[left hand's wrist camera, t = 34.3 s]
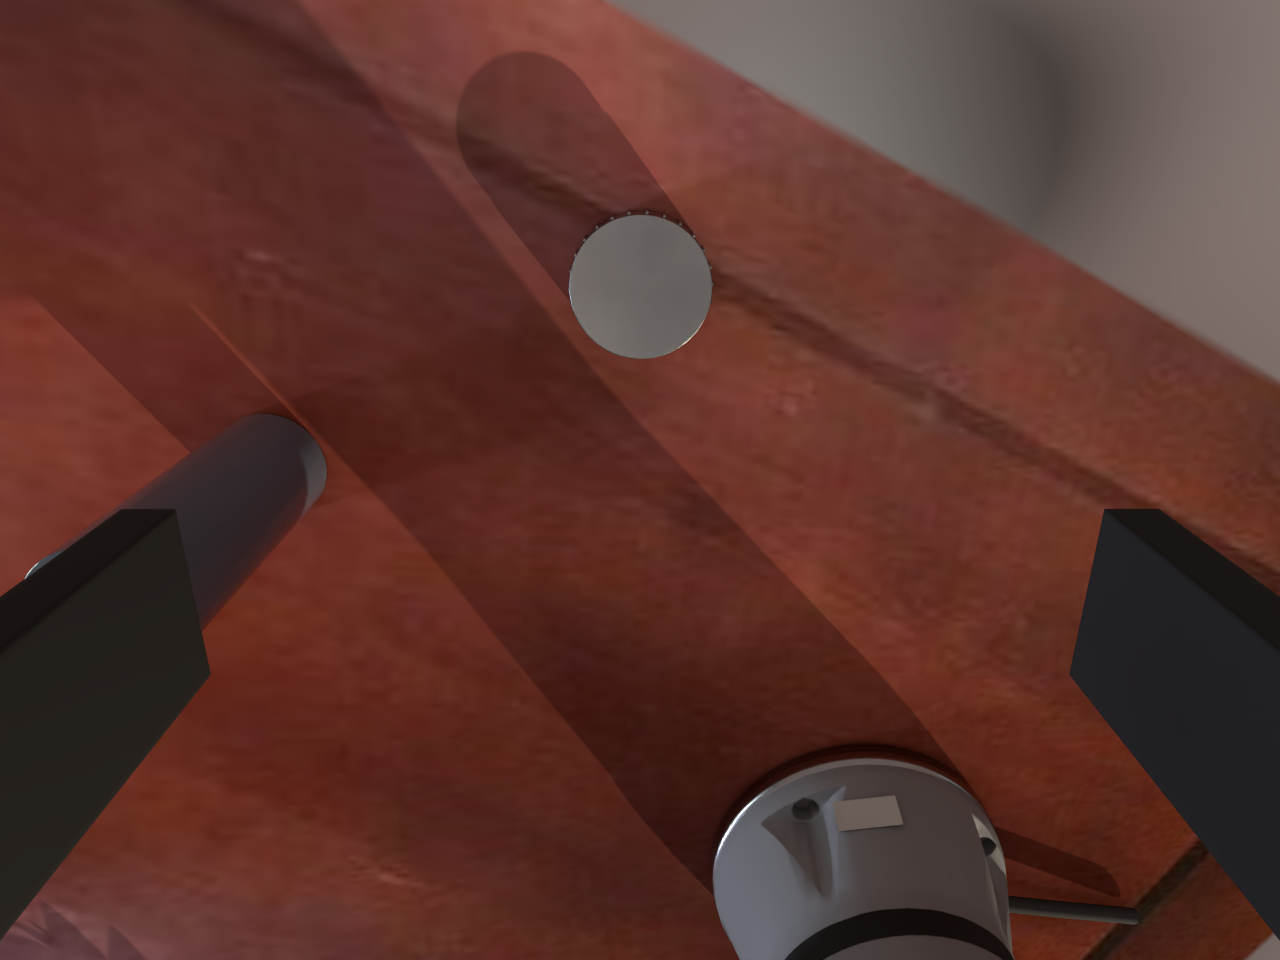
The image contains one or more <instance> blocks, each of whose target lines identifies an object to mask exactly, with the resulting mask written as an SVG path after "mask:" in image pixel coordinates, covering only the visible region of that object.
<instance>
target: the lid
mask: <svg viewBox="0 0 1280 960" xmlns="http://www.w3.org/2000/svg"><path fill="white" fill-rule="evenodd" d="M583 241H584V242H583V244H582V246H581V247H580V249H579V250H578V249H577V251H576V252H575V254H574V256H575V260H574V262H573V265H572V267H571V269H570V270H569V273H570V282H569V288H568V291H569V292H570V300H571V304H572V305H571V307H572V308H573V311H574V314H575V316H576V318H577V320H578V323H579V324H580V325H581V327H582V329H583V330H584V331H585V332H586V334H587V335H588V336H589V337H590V338H591V339H592V340H593V341H594V342H595V343H597V344H598V345H599V346H601V347H602V348H604V349H606V350H607V351H609V352H611V353H614V354H616V355H619V356H623V357H627V358H634V359H648V358H655V357H659V356H662V355H665V354H668V353H670V352H672V351H674V350H676V349H678V348H679V347H681V346H682V345H683V344H685V343H686V342H687V341H688V340H689V339H690V338H691V337H693V336H694V334H695V333H696V332H697V331H698V329H699V328H700V326H701V325H702V323H703V321H704V319H705V318H706V315H707V313H708V310H709V306H710V303H711V302H712V300H711V297H712V286H714V283H713V281H712V276H711V271H710V268H711V265H710V263H709V261H707V258H706V256H705V254H704V252H705V249H704V247H703V246H702V245H699V243H698V241H697V240H696V238H695V234H694V233H693V231H691V232H690V231H689V230H688V229H687V228H686V227H684V226H683V225H682V223H681V221H680V220H678V221H676V220H675V219H673V218H671V217H669V216H666V214H665V213H664V212H663V213H662V214H661V213H657V212H653V211H648V209H646V210H636V211H631V209H628V212H624V213H621V214H617V215H614V214H612V215H611V218H609V219H607V220H605V221H604V222H602V223H601V224H600V223H597V225H596V227H595V229H594V230H593V231H592V232H591V233H590V234H589V235H586V236H585V237H584V239H583Z"/></svg>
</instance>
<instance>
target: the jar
mask: <svg viewBox="0 0 1280 960" xmlns="http://www.w3.org/2000/svg"><path fill="white" fill-rule="evenodd" d="M326 478H327V468H326V462H325V459H324V455H323V453H322V451H321V449H320V447H319V445H318V443H317V442H316V441H315V439H314V438H313V437H312V436H311V435H310V434H309V433H308V432H307V431H306V430H305V429H304V428H303V427H301V426H300V425H298V424H297V423H295V422H293V421H291V420H289V419H287V418H284V417H281V416H277V415H273V414H253V415H248V416H245V417H242V418H240V419H238V420H236V421H235V422H233V423H232V424H230V425H229V426H227V427H226V428H225V429H223V430H222V431H220V432H219V433H218V434H216V435H215V436H213V437H212V438H211V439H209V440H208V441H206V442H205V443H204V444H202V445H201V446H199V447H198V448H197V449H195V450H194V451H192V452H191V453H190V454H188V455H187V456H185V457H184V458H183V459H181V460H180V461H178V462H177V463H176V464H174V465H173V466H171V467H170V468H169V469H167V470H166V471H164V472H163V473H162V474H160V475H159V476H157V477H156V478H155V479H153V480H152V481H150V482H149V483H148V484H146V485H145V486H143V487H142V488H141V489H139V490H138V491H136V492H135V493H134V494H132V495H131V496H129V497H128V498H127V499H125V500H124V501H122V502H121V503H120V504H118V505H117V506H115V507H114V508H113V509H111V510H110V511H108V512H107V513H106V514H104V515H103V516H101V517H100V518H99V519H97V520H96V521H94V522H93V523H91V524H90V525H89V526H87V527H86V528H84V529H83V530H82V531H80V532H79V533H77V534H76V535H75V536H73V537H72V538H70V539H69V540H68V541H66V542H65V543H63V544H62V545H61V546H59V547H58V548H56V549H55V550H54V551H52V552H51V553H49V554H48V555H47V556H45V557H44V558H42V559H41V560H40V561H39V562H37V563H36V564H35V565H34V566H33V567H32V568H31V570H30V571H29V572H28V573H27V575H26V577H25V579H26V578H27V577H28V576H30V575H31V574H33V573H34V572H35V571H37V570H38V569H39V568H41V567H42V566H44V565H45V564H46V563H48V562H49V561H50V560H52V559H53V558H55V557H56V556H57V555H59V554H60V553H61V552H63V551H64V550H66V549H67V548H68V547H70V546H71V545H72V544H74V543H75V542H77V541H78V540H79V539H81V538H82V537H83V536H85V535H86V534H88V533H89V532H90V531H92V530H93V529H94V528H96V527H97V526H99V525H100V524H101V523H103V522H104V521H105V520H107V519H108V518H110V517H111V516H112V515H114V514H115V513H116V512H118V511H119V510H121V509H176V514H177V519H178V523H179V528H180V533H181V537H182V542H183V547H184V551H185V556H186V561H187V566H188V570H189V575H190V580H191V584H192V589H193V594H194V599H195V603H196V608H197V613H198V617H199V622H200V627H201V631H203V630H204V629H205V628H206V627H207V626H208V624H209V623H210V622H211V621H212V620H213V619H214V618H215V616H216V615H217V614H218V613H219V612H220V611H221V610H222V608H223V607H224V606H225V605H226V604H227V603H228V602H229V600H230V599H231V598H232V597H233V596H234V595H235V594H236V592H237V591H238V590H239V589H240V588H241V587H242V586H243V585H244V583H245V582H246V581H247V580H248V579H249V578H250V577H251V575H252V574H253V573H254V572H255V571H256V570H257V569H258V567H259V566H260V565H261V564H262V563H263V562H264V561H265V559H266V558H267V557H268V556H269V555H270V554H271V553H272V551H273V550H274V549H275V548H276V547H277V546H278V545H279V543H280V542H281V541H282V540H283V539H284V538H285V537H286V535H287V534H288V533H289V532H290V531H291V530H292V529H293V527H294V526H295V525H296V524H297V523H298V522H299V521H300V519H301V518H302V517H303V516H304V515H305V514H306V513H307V511H308V510H309V509H310V508H311V507H312V506H313V505H314V503H315V502H316V501H317V500H318V499H319V497H320V496H321V494H322V492H323V490H324V487H325V484H326Z"/></svg>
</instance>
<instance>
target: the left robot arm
mask: <svg viewBox="0 0 1280 960" xmlns="http://www.w3.org/2000/svg"><path fill="white" fill-rule="evenodd" d="M210 675H211V674H210V669H209V664H208V660H207V655H206V650H205V646H204V641H203V636H202V631H201V627H200V622H199V617H198V613H197V608H196V603H195V599H194V594H193V589H192V584H191V580H190V575H189V570H188V566H187V561H186V556H185V551H184V547H183V542H182V537H181V533H180V528H179V523H178V519H177V514H176V509H121V510H119V511H118V512H116V513H115V514H114V515H112V516H111V517H110V518H108V519H107V520H105V521H104V522H103V523H101V524H100V525H99V526H97V527H96V528H94V529H93V530H92V531H90V532H89V533H88V534H86V535H85V536H83V537H82V538H81V539H79V540H78V541H77V542H75V543H74V544H72V545H71V546H70V547H68V548H67V549H66V550H64V551H63V552H61V553H60V554H59V555H57V556H56V557H55V558H53V559H52V560H50V561H49V562H48V563H46V564H45V565H44V566H42V567H41V568H39V569H38V570H37V571H35V572H34V573H33V574H31V575H30V576H28V577H27V578H26V579H24V580H23V581H22V582H20V583H19V584H17V585H16V586H15V587H13V588H12V589H11V590H9V591H8V592H6V593H5V594H4V595H2V596H1V597H0V940H1V939H2V938H3V936H4V935H5V934H6V932H7V931H8V930H9V929H10V927H11V926H12V925H13V924H14V922H15V921H16V920H17V919H18V917H19V916H20V915H21V913H22V912H23V911H24V910H25V908H26V907H27V906H28V905H29V903H30V902H31V901H32V900H33V898H34V897H35V896H36V895H37V893H38V892H39V891H40V889H41V888H42V887H43V886H44V884H45V883H46V882H47V881H48V879H49V878H50V877H51V876H52V874H53V873H54V872H55V871H56V869H57V868H58V867H59V865H60V864H61V863H62V862H63V860H64V859H65V858H66V857H67V855H68V854H69V853H70V852H71V850H72V849H73V848H74V847H75V845H76V844H77V843H78V841H79V840H80V839H81V838H82V836H83V835H84V834H85V833H86V831H87V830H88V829H89V828H90V826H91V825H92V824H93V823H94V821H95V820H96V819H97V817H98V816H99V815H100V814H101V812H102V811H103V810H104V809H105V807H106V806H107V805H108V804H109V802H110V801H111V800H112V798H113V797H114V796H115V795H116V793H117V792H118V791H119V790H120V788H121V787H122V786H123V785H124V783H125V782H126V781H127V780H128V778H129V777H130V776H131V774H132V773H133V772H134V771H135V769H136V768H137V767H138V766H139V764H140V763H141V762H142V761H143V759H144V758H145V757H146V756H147V754H148V753H149V752H150V750H151V749H152V748H153V747H154V745H155V744H156V743H157V742H158V740H159V739H160V738H161V737H162V735H163V734H164V733H165V732H166V730H167V729H168V728H169V726H170V725H171V724H172V723H173V721H174V720H175V719H176V718H177V716H178V715H179V714H180V713H181V711H182V710H183V709H184V708H185V706H186V705H187V704H188V702H189V701H190V700H191V699H192V697H193V696H194V695H195V694H196V692H197V691H198V690H199V689H200V687H201V686H202V685H203V684H204V682H205V681H206V680H207V678H208V677H209V676H210ZM1069 675H1070V676H1071V677H1072V678H1073V680H1074V681H1075V682H1076V684H1077V685H1078V686H1079V687H1080V689H1081V690H1082V691H1083V692H1084V694H1085V695H1086V696H1087V697H1088V699H1089V700H1090V701H1091V702H1092V704H1093V705H1094V706H1095V708H1096V709H1097V710H1098V711H1099V713H1100V714H1101V715H1102V716H1103V718H1104V719H1105V720H1106V721H1107V723H1108V724H1109V725H1110V726H1111V728H1112V729H1113V730H1114V732H1115V733H1116V734H1117V735H1118V737H1119V738H1120V739H1121V740H1122V742H1123V743H1124V744H1125V745H1126V747H1127V748H1128V749H1129V750H1130V752H1131V753H1132V754H1133V756H1134V757H1135V758H1136V759H1137V761H1138V762H1139V763H1140V764H1141V766H1142V767H1143V768H1144V769H1145V771H1146V772H1147V773H1148V774H1149V776H1150V777H1151V778H1152V780H1153V781H1154V782H1155V783H1156V785H1157V786H1158V787H1159V788H1160V790H1161V791H1162V792H1163V793H1164V795H1165V796H1166V797H1167V799H1168V800H1169V801H1170V802H1171V804H1172V805H1173V806H1174V807H1175V809H1176V810H1177V811H1178V812H1179V814H1180V815H1181V816H1182V817H1183V819H1184V820H1185V821H1186V823H1187V824H1188V825H1189V826H1190V828H1191V829H1192V830H1193V831H1194V833H1195V834H1196V835H1197V836H1198V838H1199V839H1200V840H1201V841H1202V843H1203V844H1204V845H1205V847H1206V848H1207V849H1208V850H1209V852H1210V853H1211V854H1212V855H1213V857H1214V858H1215V859H1216V860H1217V862H1218V863H1219V864H1220V865H1221V867H1222V868H1223V869H1224V871H1225V872H1226V873H1227V874H1228V876H1229V877H1230V878H1231V879H1232V881H1233V882H1234V883H1235V884H1236V886H1237V887H1238V888H1239V889H1240V891H1241V892H1242V893H1243V895H1244V896H1245V897H1246V898H1247V900H1248V901H1249V902H1250V903H1251V905H1252V906H1253V907H1254V908H1255V910H1256V911H1257V912H1258V914H1259V915H1260V916H1261V917H1262V919H1263V920H1264V921H1265V922H1266V924H1267V925H1268V926H1269V927H1270V929H1271V930H1272V931H1273V932H1274V934H1275V935H1276V936H1277V937H1278V939H1279V940H1280V597H1279V596H1278V595H1276V594H1275V593H1274V592H1272V591H1271V590H1269V589H1268V588H1267V587H1265V586H1264V585H1263V584H1261V583H1260V582H1258V581H1257V580H1256V579H1254V578H1253V577H1252V576H1250V575H1249V574H1247V573H1246V572H1245V571H1243V570H1242V569H1241V568H1239V567H1238V566H1236V565H1235V564H1234V563H1232V562H1231V561H1230V560H1228V559H1227V558H1225V557H1224V556H1223V555H1221V554H1220V553H1219V552H1217V551H1216V550H1214V549H1213V548H1212V547H1210V546H1209V545H1208V544H1206V543H1205V542H1203V541H1202V540H1201V539H1199V538H1198V537H1197V536H1195V535H1194V534H1192V533H1191V532H1190V531H1188V530H1187V529H1186V528H1184V527H1183V526H1181V525H1180V524H1179V523H1177V522H1176V521H1175V520H1173V519H1172V518H1170V517H1169V516H1168V515H1166V514H1165V513H1164V512H1162V511H1161V510H1159V509H1104V514H1103V519H1102V523H1101V528H1100V533H1099V537H1098V542H1097V547H1096V551H1095V556H1094V561H1093V566H1092V570H1091V575H1090V580H1089V584H1088V589H1087V594H1086V599H1085V603H1084V608H1083V613H1082V617H1081V622H1080V627H1079V631H1078V636H1077V641H1076V646H1075V650H1074V655H1073V660H1072V664H1071V669H1070V674H1069ZM711 869H712V881H713V892H714V898H715V903H716V907H717V910H718V913H719V916H720V920H721V922H722V925H723V927H724V929H725V932H726V934H727V936H728V938H729V939H730V941H731V942H732V944H733V946H734V948H735V950H736V952H737V954H738V957H739V959H740V960H1015V958H1014V956H1013V953H1012V941H1011V928H1010V915H1009V913H1018V914H1028V915H1037V916H1047V917H1057V918H1068V919H1079V920H1090V921H1102V922H1114V923H1125V924H1133V925H1135V924H1137V923H1138V921H1139V914H1138V912H1137V910H1135V909H1134V908H1128V907H1118V906H1107V905H1096V904H1085V903H1074V902H1063V901H1053V900H1044V899H1034V898H1025V897H1016V896H1008V890H1007V878H1006V867H1005V861H1004V856H1003V852H1002V849H1001V844H1000V841H999V838H998V834H997V832H996V830H995V828H994V826H993V823H992V822H991V820H990V818H989V816H988V814H987V812H986V810H985V808H984V806H983V804H982V802H981V801H980V799H979V798H978V796H977V795H976V793H975V792H974V791H973V790H972V789H971V787H970V786H969V785H968V784H967V783H966V782H965V781H964V780H963V779H962V778H960V777H959V776H958V775H957V774H955V773H954V772H953V771H951V770H950V769H948V768H946V767H945V766H943V765H942V764H940V763H938V762H936V761H934V760H932V759H930V758H927V757H924V756H922V755H919V754H916V753H913V752H909V751H905V750H901V749H896V748H890V747H881V746H847V747H839V748H832V749H827V750H823V751H819V752H815V753H811V754H808V755H805V756H802V757H800V758H797V759H795V760H792V761H790V762H787V763H785V764H783V765H782V766H780V767H778V768H776V769H774V770H772V771H771V772H769V773H768V774H766V775H764V776H763V777H762V778H760V779H759V780H758V781H756V782H755V783H754V784H752V785H751V786H750V787H749V788H748V789H747V790H746V791H745V792H744V793H743V794H742V795H741V796H740V797H739V798H738V799H737V800H736V801H735V803H734V804H733V805H732V807H731V808H730V809H729V811H728V812H727V814H726V815H725V817H724V819H723V820H722V822H721V824H720V827H719V829H718V831H717V834H716V837H715V840H714V844H713V849H712V857H711Z"/></svg>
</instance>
